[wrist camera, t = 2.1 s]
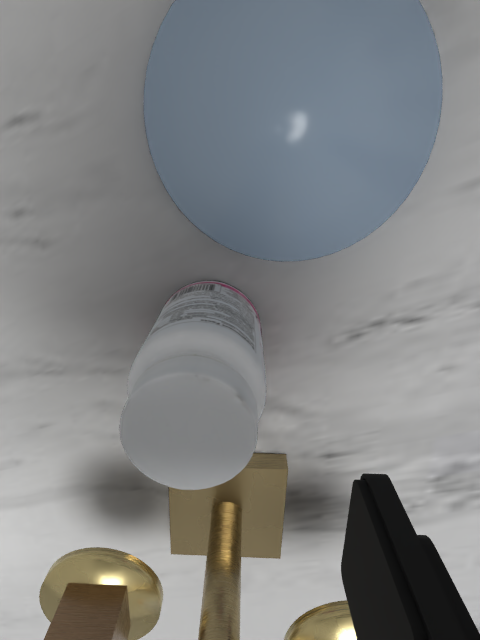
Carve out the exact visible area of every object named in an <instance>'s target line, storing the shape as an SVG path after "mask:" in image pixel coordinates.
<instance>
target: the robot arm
mask: <svg viewBox="0 0 480 640" xmlns="http://www.w3.org/2000/svg"><path fill="white" fill-rule="evenodd" d="M341 574H342V580H343V585H344V589H345V593H346V597H347V601H348V605H349V609H350V614H351V618H352V622H353V626H354V630H355V634H356V638H357V640H480V634H479V632H478V630H477V628H476V626H475V624H474V622H473V620H472V618H471V616H470V614H469V612H468V610H467V608H466V606H465V604H464V603H463V601H462V599H461V597H460V595H459V593H458V591H457V589H456V587H455V585H454V583H453V581H452V579H451V577H450V575H449V573H448V571H447V569H446V567H445V565H444V563H443V562H442V560H441V558H440V556H439V554H438V552H437V550H436V548H435V546H434V544H433V543H432V541H431V539H430V538H429V537H427V536H426V535H417V534H416V532H415V530H414V528H413V526H412V524H411V522H410V520H409V518H408V516H407V514H406V511H405V509H404V507H403V505H402V503H401V501H400V499H399V497H398V495H397V493H396V491H395V489H394V486H393V484H392V482H391V480H390V478H389V477H388V475H386V474H362V476H361V479H360V480H354V482H353V487H352V493H351V500H350V507H349V514H348V521H347V528H346V535H345V542H344V549H343V555H342V562H341Z"/></svg>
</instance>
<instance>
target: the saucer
mask: <svg viewBox="0 0 480 640" xmlns="http://www.w3.org/2000/svg"><path fill="white" fill-rule="evenodd" d="M441 106H442V71H441V63H440V55H439V51H438V47H437V43H436V39H435V35H434V32H433V30H432V27H431V25H430V22H429V20H428V17H427V15H426V12H425V10H424V9H423V7H422V5H421V3H420V2H419V0H175V1H174V3H173V4H172V5H171V7H170V9H169V11H168V13H167V15H166V16H165V18H164V20H163V22H162V24H161V26H160V28H159V31H158V34H157V36H156V39H155V41H154V44H153V46H152V50H151V54H150V58H149V62H148V66H147V71H146V79H145V86H144V119H145V129H146V135H147V139H148V144H149V148H150V153H151V156H152V158H153V161H154V164H155V167H156V170H157V172H158V174H159V176H160V178H161V180H162V182H163V184H164V186H165V188H166V190H167V192H168V193H169V195H170V196H171V198H172V199H173V201H174V202H175V204H176V205H177V206H178V208H179V209H180V210H181V211H182V212H183V214H184V215H185V216H186V217H187V218H188V219H189V220H190V221H191V222H192V223H193V224H194V225H195V226H196V227H197V228H198V229H200V230H201V231H202V232H203V233H205V234H206V235H207V236H209V237H210V238H212V239H213V240H214V241H216V242H218V243H220V244H222V245H223V246H225V247H227V248H229V249H231V250H233V251H236V252H239V253H241V254H244V255H247V256H250V257H255V258H259V259H263V260H272V261H281V262H282V261H302V260H308V259H315V258H319V257H322V256H326V255H329V254H333V253H335V252H338V251H340V250H342V249H345V248H347V247H349V246H351V245H353V244H354V243H356V242H358V241H360V240H361V239H363V238H365V237H366V236H368V235H369V234H370V233H372V232H373V231H374V230H376V229H377V228H378V227H380V226H381V225H382V224H383V223H384V222H385V221H386V220H387V219H388V218H389V217H390V216H391V215H392V214H393V213H394V212H395V211H396V210H397V209H398V208H399V206H400V205H401V204H402V203H403V202H404V200H405V199H406V198H407V197H408V195H409V194H410V192H411V191H412V189H413V187H414V186H415V184H416V183H417V181H418V180H419V178H420V176H421V174H422V172H423V170H424V168H425V166H426V164H427V162H428V159H429V156H430V153H431V151H432V148H433V145H434V142H435V139H436V134H437V130H438V126H439V122H440V114H441Z"/></svg>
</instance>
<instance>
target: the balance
mask: <svg viewBox="0 0 480 640" xmlns="http://www.w3.org/2000/svg"><path fill="white" fill-rule="evenodd" d="M287 475H288V466H287V458H286V454H265V453H253V455H252V457H251V459H250V461H249V462H248V464H247V465H246V466H245V468H244V469H243V470H242V471H241V472H240V473H238V474H237V475H236V476H235V477H233V478H232V479H230V480H229V481H227V482H225V483H222V484H220V485H217V486H214V487H210V488H206V489H200V490H182V489H176V488H172V487H169V508H170V537H171V554H181V555H206V556H207V561H206V570H205V580H204V589H203V599H202V608H201V618H200V627H199V637H198V640H240V590H241V557H256V558H280V555H281V543H282V532H283V521H284V509H285V498H286V487H287ZM39 598H40V605H41V608H42V610H43V612H44V614H45V616H46V617H47V619H48V620H49V621H50V622H51V624H50V626H49V629H48V631H47V633H46V636H45V638H44V640H137V639H140V638H141V637H143V636H145V635H146V634H147V633H149V632H150V631H151V630H152V629H153V628H154V626H155V625H156V623H157V621H158V619H159V615H160V611H161V606H162V601H163V589H162V586H161V583H160V581H159V579H158V577H157V575H156V574H155V573H154V571H153V570H152V569H151V568H150V567H149V566H148V565H146V564H145V563H144V562H142V561H141V560H139V559H138V558H136V557H134V556H132V555H130V554H127V553H125V552H122V551H118V550H114V549H109V548H84V549H79V550H76V551H73V552H70V553H68V554H66V555H64V556H62V557H61V558H59V559H58V560H57V561H56V562H55V563H54V564H53V565H52V567H51V568H50V570H49V572H48V574H47V576H46V578H45V580H44V582H43V584H42V586H41V589H40V596H39ZM284 640H357V638H356V634H355V630H354V626H353V622H352V618H351V614H350V609H349V605H348V601H338V602H332V603H328V604H325V605H321V606H319V607H316V608H314V609H312V610H310V611H308V612H306V613H305V614H303V615H302V616H300V617H299V618H298V619H297V620H296V621H295V622H294V623H293V624H292V625H291V626H290V628H289V629H288V631H287V633H286V635H285V638H284Z"/></svg>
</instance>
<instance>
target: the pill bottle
mask: <svg viewBox="0 0 480 640" xmlns="http://www.w3.org/2000/svg"><path fill="white" fill-rule="evenodd" d="M127 393H128V400H127V402H126V404H125V406H124V409H123V412H122V415H121V420H120V438H121V442H122V445H123V448H124V450H125V453H126V454H127V456H128V458H129V459H130V461H131V462H132V463H133V464H134V466H135V467H136V468H137V469H138V470H140V471H141V472H142V473H143V474H144V475H146V476H147V477H149V478H150V479H152V480H154V481H156V482H158V483H161V484H163V485H166V486H169V487H172V488H176V489H182V490H200V489H206V488H210V487H214V486H217V485H220V484H222V483H225V482H227V481H229V480H230V479H232V478H233V477H235V476H236V475H237V474H238V473H240V472H241V471H242V470H243V469H244V468H245V466H246V465H247V464H248V462H249V461H250V459H251V457H252V455H253V453H254V450H255V448H256V443H257V435H258V421H259V419H260V417H261V415H262V412H263V409H264V406H265V401H266V375H265V364H264V353H263V343H262V332H261V324H260V319H259V316H258V313H257V311H256V309H255V307H254V305H253V304H252V302H251V301H250V300H249V299H248V298H247V297H246V296H245V295H244V294H243V293H242V292H240V291H239V290H237V289H236V288H234V287H232V286H230V285H228V284H225V283H221V282H217V281H200V282H195V283H192V284H189V285H187V286H185V287H183V288H181V289H180V290H178V291H177V292H176V293H174V294H173V295H172V296H171V297H170V299H169V300H168V301H167V302H166V304H165V305H164V307H163V309H162V311H161V313H160V315H159V317H158V319H157V321H156V323H155V324H154V326H153V328H152V330H151V331H150V333H149V335H148V336H147V338H146V340H145V342H144V343H143V345H142V347H141V349H140V351H139V352H138V354H137V356H136V358H135V360H134V362H133V364H132V366H131V369H130V373H129V376H128V384H127Z"/></svg>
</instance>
